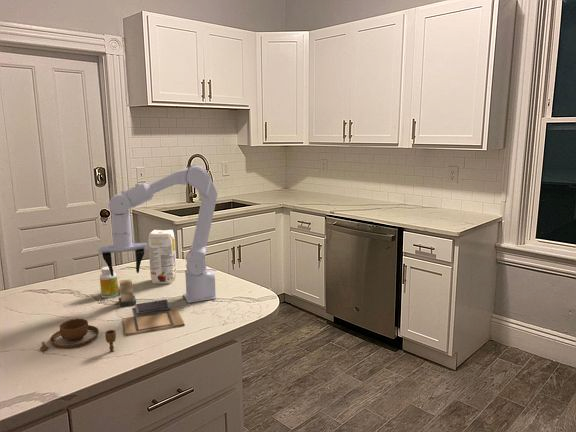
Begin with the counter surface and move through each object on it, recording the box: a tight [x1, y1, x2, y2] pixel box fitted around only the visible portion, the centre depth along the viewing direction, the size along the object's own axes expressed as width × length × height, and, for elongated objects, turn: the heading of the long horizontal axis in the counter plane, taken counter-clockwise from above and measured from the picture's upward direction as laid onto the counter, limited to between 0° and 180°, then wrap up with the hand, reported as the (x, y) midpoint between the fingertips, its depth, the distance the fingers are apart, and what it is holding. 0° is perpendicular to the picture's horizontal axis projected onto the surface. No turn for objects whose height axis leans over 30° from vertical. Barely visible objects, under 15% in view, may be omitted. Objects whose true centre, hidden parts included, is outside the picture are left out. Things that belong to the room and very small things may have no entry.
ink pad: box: [134, 299, 172, 316], centre depth 140 cm, size 10×8×1 cm
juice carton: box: [147, 229, 177, 285], centre depth 164 cm, size 8×9×19 cm
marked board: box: [122, 309, 185, 337], centre depth 131 cm, size 16×11×1 cm
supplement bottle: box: [99, 265, 119, 299], centre depth 151 cm, size 5×5×10 cm
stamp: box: [118, 278, 137, 308], centre depth 144 cm, size 5×5×8 cm
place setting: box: [39, 318, 117, 353], centre depth 117 cm, size 18×20×6 cm
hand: (125, 273), depth 143 cm, fingers open, 7 cm apart
